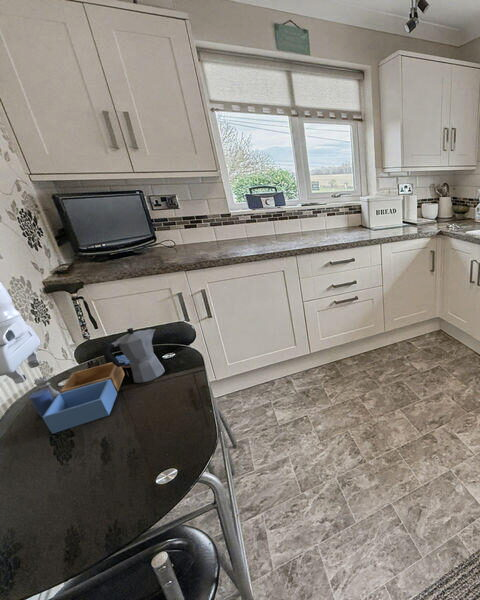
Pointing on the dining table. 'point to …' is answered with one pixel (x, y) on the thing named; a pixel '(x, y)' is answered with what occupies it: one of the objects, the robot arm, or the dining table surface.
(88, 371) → the oak bin
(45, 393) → the blue peg
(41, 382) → the rook chess piece
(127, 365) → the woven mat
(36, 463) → the dining table surface
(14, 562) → the dining table surface
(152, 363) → the coffeepot
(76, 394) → the blue bin
